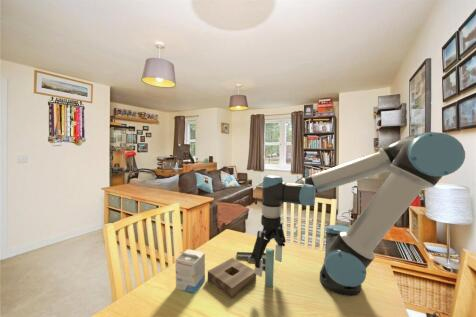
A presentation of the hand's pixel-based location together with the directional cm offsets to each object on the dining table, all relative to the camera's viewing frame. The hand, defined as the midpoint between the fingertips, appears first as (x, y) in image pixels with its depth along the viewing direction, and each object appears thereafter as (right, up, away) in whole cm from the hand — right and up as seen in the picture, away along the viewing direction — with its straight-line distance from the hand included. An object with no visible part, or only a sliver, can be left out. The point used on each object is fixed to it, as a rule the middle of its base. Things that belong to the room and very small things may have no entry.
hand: (269, 267), depth 81 cm
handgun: (-5, -7, +16) cm, 18 cm away
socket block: (-15, -7, +2) cm, 16 cm away
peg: (0, -7, 0) cm, 7 cm away
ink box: (-31, -7, -1) cm, 32 cm away
